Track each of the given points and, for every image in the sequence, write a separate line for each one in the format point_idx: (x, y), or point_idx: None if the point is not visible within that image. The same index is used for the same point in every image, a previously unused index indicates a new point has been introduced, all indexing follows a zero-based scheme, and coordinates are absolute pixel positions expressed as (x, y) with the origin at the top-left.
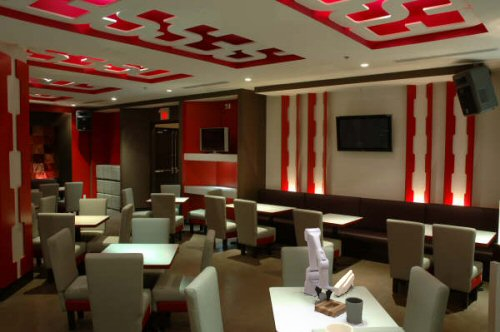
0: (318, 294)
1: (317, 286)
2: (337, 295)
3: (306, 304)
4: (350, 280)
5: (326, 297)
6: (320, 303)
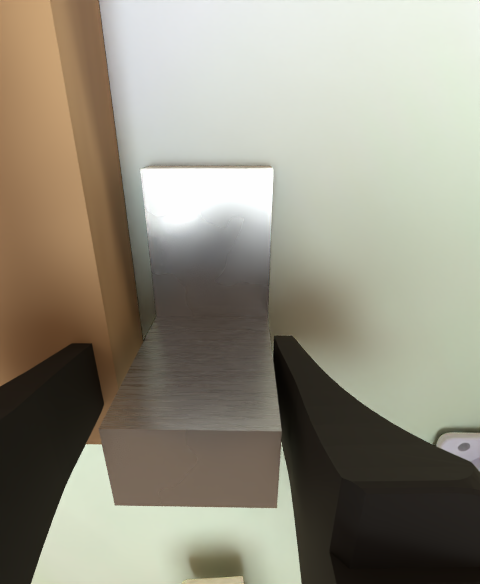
0: (296, 388)
1: None
2: (204, 579)
3: (414, 64)
4: None
5: (50, 378)
6: (50, 111)
